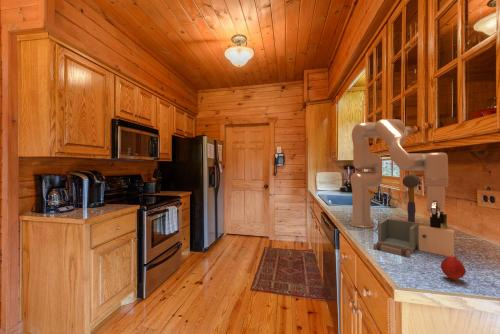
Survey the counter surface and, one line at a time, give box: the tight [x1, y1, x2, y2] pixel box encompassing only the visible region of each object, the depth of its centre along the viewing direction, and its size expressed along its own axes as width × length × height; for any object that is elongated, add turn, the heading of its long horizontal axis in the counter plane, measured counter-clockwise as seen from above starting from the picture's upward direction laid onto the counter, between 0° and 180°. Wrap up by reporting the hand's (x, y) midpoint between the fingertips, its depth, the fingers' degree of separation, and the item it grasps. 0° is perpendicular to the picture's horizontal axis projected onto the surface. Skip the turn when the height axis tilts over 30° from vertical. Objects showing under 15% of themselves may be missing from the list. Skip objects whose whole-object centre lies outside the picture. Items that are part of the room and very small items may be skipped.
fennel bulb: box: [441, 213, 448, 229], centre depth 115 cm, size 6×5×12 cm
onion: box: [440, 254, 467, 281], centre depth 73 cm, size 6×6×8 cm
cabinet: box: [373, 217, 420, 258], centre depth 101 cm, size 18×13×10 cm
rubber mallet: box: [402, 174, 421, 223], centre depth 131 cm, size 12×8×30 cm, turn 139°
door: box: [418, 224, 455, 257], centre depth 94 cm, size 4×11×10 cm, turn 45°
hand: (437, 225), depth 94 cm, fingers open, 9 cm apart
